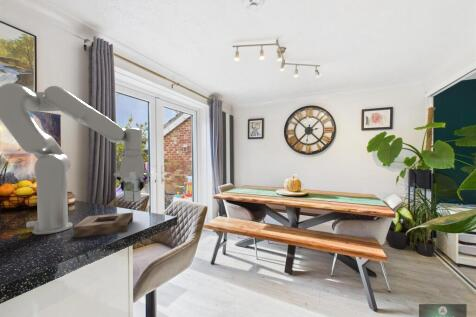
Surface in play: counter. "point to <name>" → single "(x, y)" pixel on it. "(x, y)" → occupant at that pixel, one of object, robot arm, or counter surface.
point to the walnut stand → (103, 224)
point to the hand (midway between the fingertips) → (132, 189)
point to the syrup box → (132, 188)
